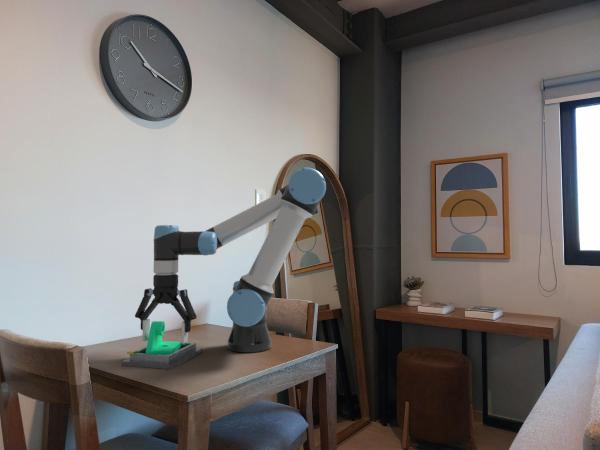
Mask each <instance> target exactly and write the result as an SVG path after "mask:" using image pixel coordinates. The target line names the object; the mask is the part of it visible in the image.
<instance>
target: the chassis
mask: <svg viewBox="0 0 600 450" xmlns="http://www.w3.org/2000/svg"><path fill="white" fill-rule="evenodd" d="M162 341H163V342H173V341H169V340H162ZM180 342H181V347H180V348H179V349H178V351H175V352H173V353H171V354H169V355H157V354H146V348H147V346H145V347H142V348H140V349H137V350H136V349H135V350H134V349H133V350H132V349H130V350H128V351H127V352H126V354H127V355H129V358H127V359H124V360H121V366H124V367H125V366H127V367H136V368H137V367H138V368H147V369H148V368H151V369H152V368H153V369H161V370H162V369H163V370H172V369H175V368H176V367H178V366H180V365H182V364H183V363H185V362H187V361H189V360H190V359H192V358H194V357H195V356H198V355H199V354H202V353H203V348H202V347H197V343H196V342H186V343H184V344H182V341H180Z"/></svg>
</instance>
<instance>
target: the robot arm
mask: <svg viewBox="0 0 600 450" xmlns="http://www.w3.org/2000/svg"><path fill="white" fill-rule="evenodd" d="M326 191H327V183H326V179H325V177H324V176H323V174H322V173H321V172H320V171H319V170H317V169H315V168H312V167H302V168H299V169H297V170H295V171H294V172H293V173H292V174H291V175H290V177H289V178H288V184H286V185H285V186H283V187H281V188H280V189H278V190H277V192H276V194H275V195H272V196H270V197H268V198H266V199H265V200H263V201H261V202H259V203H257V204H255V205H253V206H251V207H248V208H247V209H245V210H243V211H241V212H239V213H237V214H236V215H234V216H232V217H230V218H227V219H226V220H223V221H222V222H220V223H218V224H216V225H214V226H212V227H210V228H208V229H206V230H204V231H180V228H179V226H178V225H173V224H172V225H171V224H169V225H168V224H167V225H166V224H164V225H163V224H162V225H156V226H155V227H154V230H153V231H154V233H153V268H152V269H153V271H152V272H153V273H154V275H153V276H152V277H153V278H152V279H153V280H152V281H153V282H152V283H153V289H152V288H145V289H144V292H143V297H142V299H141V301H140V303H139V305H138V308H137V310H136V312H135V314H134V318H136V319H139V320H140V330H141V331H142V342H148V338H149V333H150V327H151V320H150V318H149V316H151V314H152V313H153V312H154V310H155V309H156V308H157V306H158V305H160V304H161V305H163V304H166V305H169V304H170V305H171V306H173V308H174V309H175V311H177V313H178V315H179V316H180V317H181V319H182V320H183V321H181V342H182V344H184V343H186V342H187V343H189V333H191V326H192V324H191V322H192V321H194V320H196V319H197V318H198V317H197V313H196V312H195V309H194V307H193V305H192V303H191V300H190V298H189V295H188V289H185V288H184V289H181V290H179V288H178V287H179V274H177V273H178V272H179V256H213V255H215V254H216V253H217V250H218V249H220V248H222V247H223V246H225V245H228V244H229V243H231V242H233V241H235V240H238V239H239V238H241V237H243V236H245V235H247V234H248V233H249V234H250V232H252V231H254V230H256V229H258V228H260V227H262V226H264V225H266V224H268V223H270V222H272V221H274V222H273V224H272V226H271V228H270V229H269V232H268V234H267V235H266V238H265V239H264V242H263V243H262V245H261V247H260V250H259V252H258V254H257V256H256V258H255V260H254V261H253V263H252V266H251V267H250V269H249V271H248V273H246V274H244V275H241V277H239V278H240V279H239V280H236V281H234V282H233V287H232V293H231V295H230V296H229V298H228V299H227V303H226V311H227V315H228V317H229V319H230V320H231V321H232V327H231V330H230V333H229V337H228V339H227V349H228V350H229V351H233V352H236V353H237V352H238V353H259V352H264V351H267V350H270V349H271V348H272V339H271V336H270V333H269V332H270V331H269V329H268V325H267V307H268V306H269V303H270V302H271V300H272V298H273V295H274V293H275V290H274V287H273V285H274V282H275V281H276V279H277V277H278V276H279V273H280V271H281V270H282V267H283V266H284V263H285V261H286V259H287V257H288V255H289V253H290V251H291V249H292V247H293V245H294V243H295V241H296V240H297V237H298V235H299V233H300V232H301V229H302V227H303V225H304V223H305V221H306V220H307V219H309V218H311V217H313V215H314V214H315V212H316V210H317V208H318V205H319V204H320V202H321V200H322V199H323V198H324V196H325V194H326ZM152 296H154V298H153V299H152ZM178 296H179V298H180V300H179V298H178ZM151 299H152V300H151ZM150 300H151V303H150V304H149V302H150ZM181 303H182V304H181Z"/></svg>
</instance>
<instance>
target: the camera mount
mask: <svg viewBox="0 0 600 450" xmlns="http://www.w3.org/2000/svg"><path fill="white" fill-rule="evenodd" d="M165 330H166V323H165V321H156V320H155V321H151V322H150V333H149V338H148V340H147V344H146V347H147V348H146V354H157V355H169V354H171V353H173V352H175V351H178V349H179V348H180V347H181V342H182V341H172V342H163V341H164V340H163V337H164V335H165V332H166V331H165ZM162 336H163V337H162Z"/></svg>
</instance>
